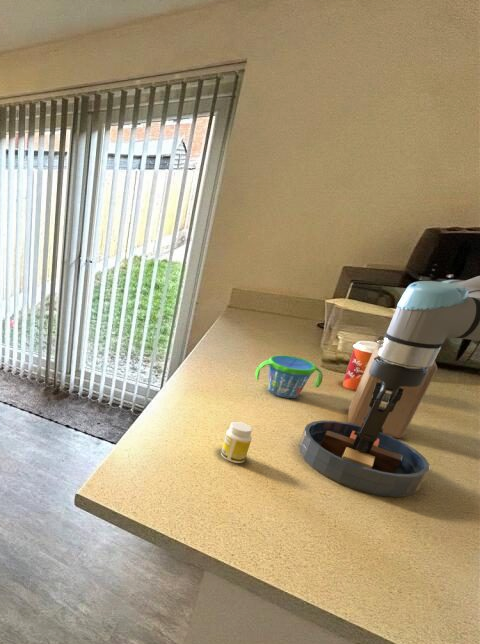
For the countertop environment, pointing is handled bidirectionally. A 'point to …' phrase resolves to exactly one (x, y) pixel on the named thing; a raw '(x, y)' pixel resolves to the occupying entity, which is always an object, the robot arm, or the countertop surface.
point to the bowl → (358, 476)
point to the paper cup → (358, 363)
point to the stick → (383, 458)
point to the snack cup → (288, 375)
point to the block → (403, 408)
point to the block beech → (358, 457)
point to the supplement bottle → (237, 442)
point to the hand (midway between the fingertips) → (356, 458)
